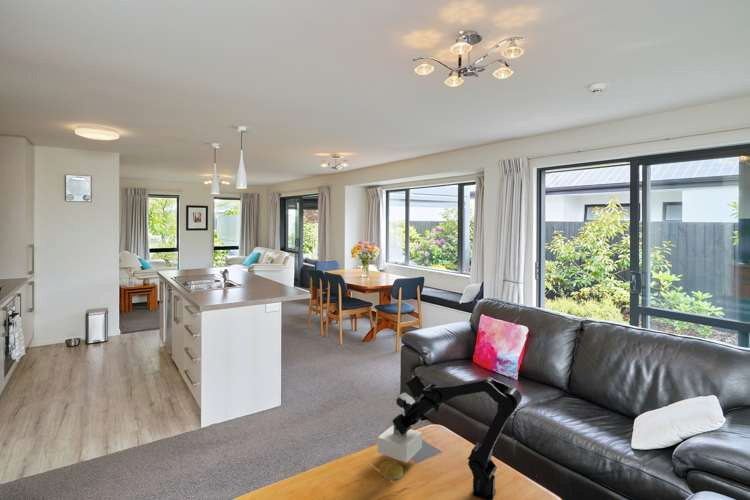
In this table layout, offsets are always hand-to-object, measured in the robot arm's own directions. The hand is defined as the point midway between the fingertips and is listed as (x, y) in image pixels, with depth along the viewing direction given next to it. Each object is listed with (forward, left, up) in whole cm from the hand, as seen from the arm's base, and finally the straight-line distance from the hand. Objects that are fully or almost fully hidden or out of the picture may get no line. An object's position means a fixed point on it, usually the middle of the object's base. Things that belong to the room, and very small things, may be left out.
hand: (397, 428), depth 157 cm
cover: (-1, 0, -8) cm, 8 cm away
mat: (-5, -11, -13) cm, 18 cm away
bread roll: (-1, +8, -14) cm, 16 cm away
